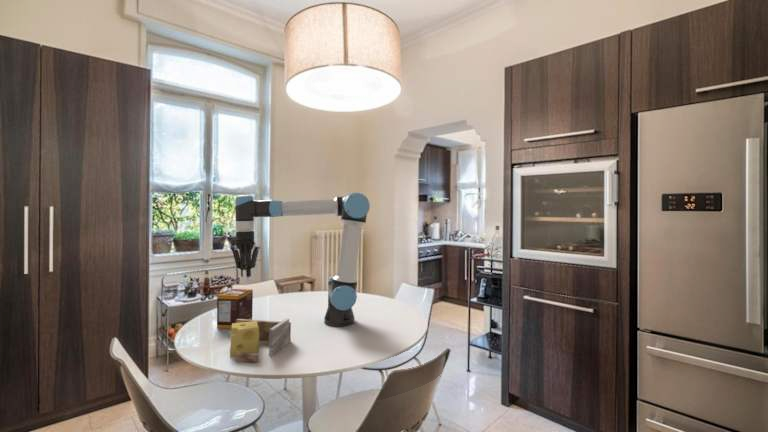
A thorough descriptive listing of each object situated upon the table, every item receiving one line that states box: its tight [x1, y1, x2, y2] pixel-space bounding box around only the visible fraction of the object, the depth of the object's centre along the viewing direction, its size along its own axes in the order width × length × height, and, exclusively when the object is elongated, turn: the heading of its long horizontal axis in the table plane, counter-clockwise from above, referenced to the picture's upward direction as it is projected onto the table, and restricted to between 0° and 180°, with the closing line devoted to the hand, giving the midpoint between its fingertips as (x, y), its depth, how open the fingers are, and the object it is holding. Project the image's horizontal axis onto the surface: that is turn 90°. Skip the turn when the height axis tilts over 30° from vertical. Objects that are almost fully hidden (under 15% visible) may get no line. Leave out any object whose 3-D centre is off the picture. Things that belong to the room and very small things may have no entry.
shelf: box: [235, 318, 292, 364], centre depth 142 cm, size 24×24×10 cm
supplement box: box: [216, 288, 254, 330], centre depth 174 cm, size 10×15×16 cm
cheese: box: [229, 321, 260, 357], centre depth 141 cm, size 10×11×10 cm
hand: (246, 284), depth 157 cm, fingers closed
